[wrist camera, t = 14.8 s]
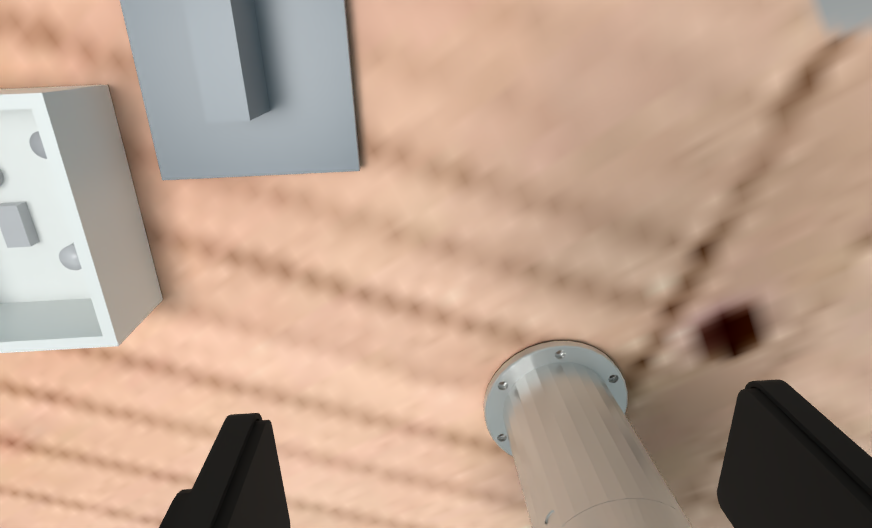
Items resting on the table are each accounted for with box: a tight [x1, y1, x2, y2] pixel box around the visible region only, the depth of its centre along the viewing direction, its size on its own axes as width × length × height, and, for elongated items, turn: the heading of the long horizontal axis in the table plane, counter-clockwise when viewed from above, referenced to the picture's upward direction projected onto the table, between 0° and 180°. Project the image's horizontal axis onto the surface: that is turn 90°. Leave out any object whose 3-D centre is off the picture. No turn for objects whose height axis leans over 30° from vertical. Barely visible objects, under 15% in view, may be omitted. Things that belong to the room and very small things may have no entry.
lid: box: [120, 0, 360, 180], centre depth 32 cm, size 17×14×7 cm
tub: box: [0, 85, 163, 353], centre depth 35 cm, size 16×13×7 cm
